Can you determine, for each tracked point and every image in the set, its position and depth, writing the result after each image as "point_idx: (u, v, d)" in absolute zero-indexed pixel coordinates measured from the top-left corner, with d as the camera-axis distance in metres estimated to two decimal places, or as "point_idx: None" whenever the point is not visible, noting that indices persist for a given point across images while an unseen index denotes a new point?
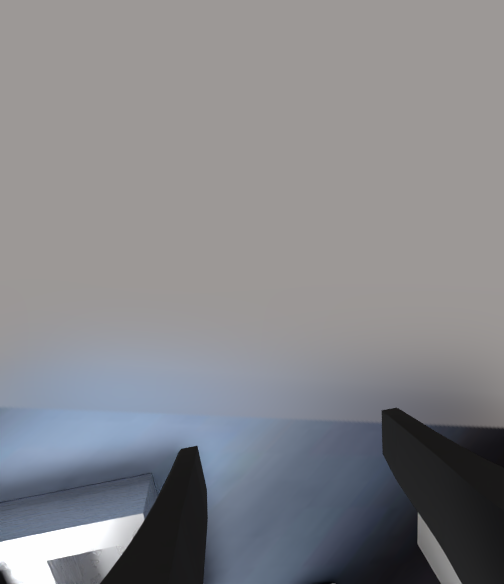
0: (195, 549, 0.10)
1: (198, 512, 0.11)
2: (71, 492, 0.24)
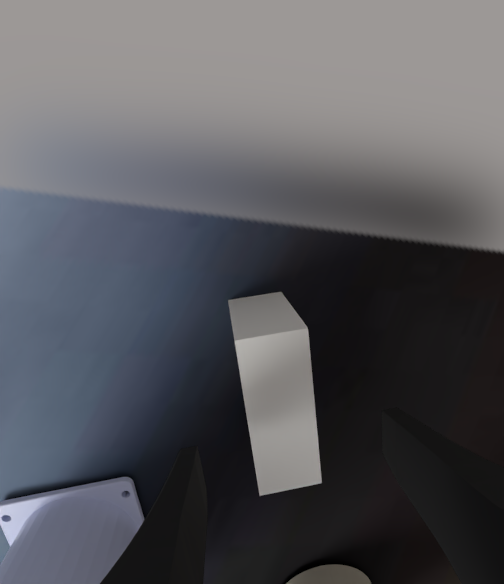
0: (195, 549, 0.10)
1: (198, 512, 0.11)
2: None
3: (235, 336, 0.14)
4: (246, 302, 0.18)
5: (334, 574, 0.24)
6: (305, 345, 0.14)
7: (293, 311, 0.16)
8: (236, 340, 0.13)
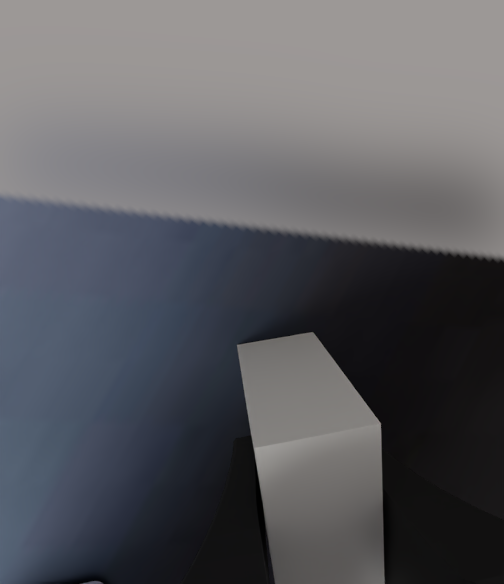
0: (262, 535, 0.10)
1: (260, 499, 0.11)
2: None
3: (254, 436, 0.08)
4: (264, 352, 0.12)
5: None
6: (374, 451, 0.08)
7: (343, 378, 0.10)
8: (257, 447, 0.08)
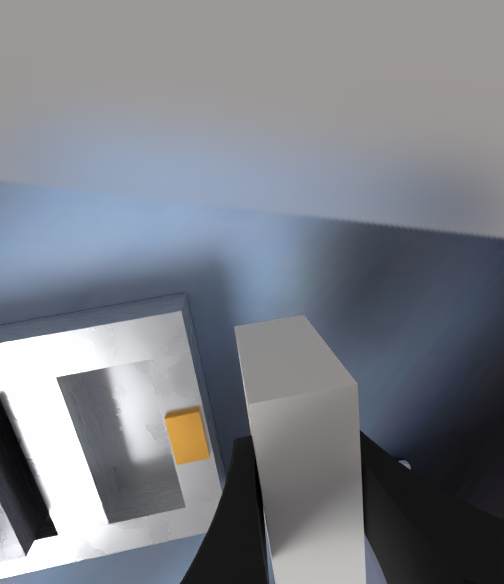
0: (262, 535, 0.10)
1: (259, 499, 0.11)
2: (85, 311, 0.19)
3: (248, 395, 0.09)
4: (259, 331, 0.13)
5: None
6: (352, 408, 0.09)
7: (328, 350, 0.11)
8: (250, 403, 0.09)
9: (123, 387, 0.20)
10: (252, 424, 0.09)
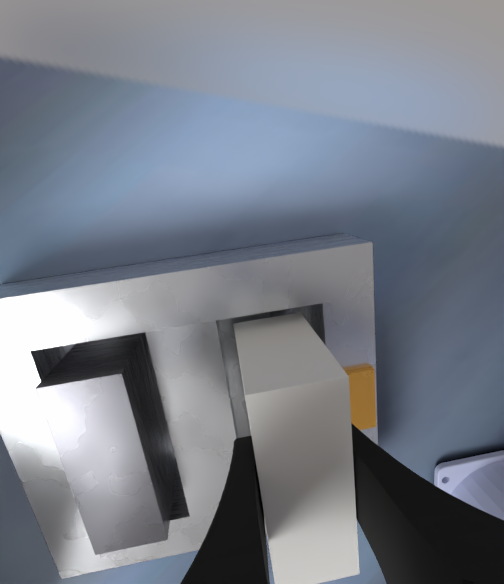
0: (262, 535, 0.10)
1: (260, 499, 0.11)
2: (230, 251, 0.16)
3: (245, 387, 0.10)
4: (257, 328, 0.14)
5: None
6: (344, 400, 0.10)
7: (322, 345, 0.12)
8: (247, 395, 0.09)
9: None
10: (249, 414, 0.10)
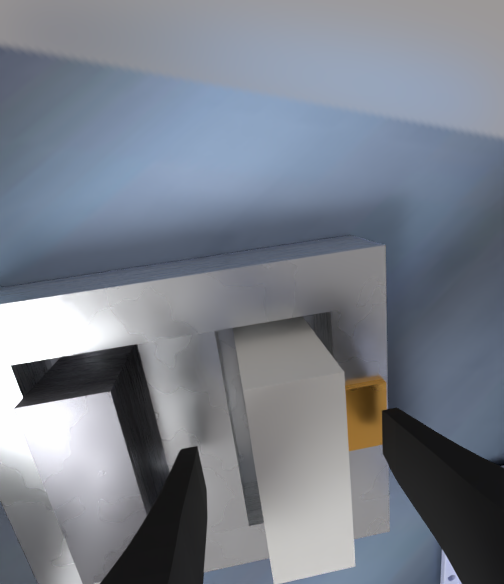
0: (195, 549, 0.10)
1: (198, 512, 0.11)
2: (230, 254, 0.15)
3: (243, 383, 0.10)
4: (255, 326, 0.14)
5: None
6: (340, 395, 0.10)
7: (319, 342, 0.12)
8: (245, 390, 0.10)
9: None
10: (247, 409, 0.10)
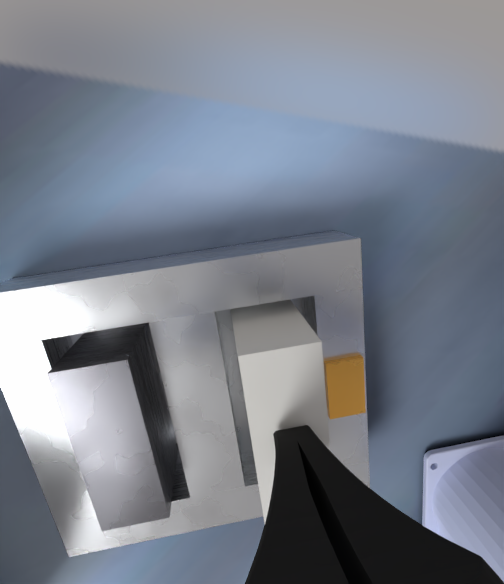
0: None
1: None
2: (228, 247, 0.17)
3: (238, 351, 0.12)
4: (250, 309, 0.16)
5: None
6: (318, 361, 0.12)
7: (303, 320, 0.14)
8: (239, 356, 0.12)
9: None
10: (241, 372, 0.12)
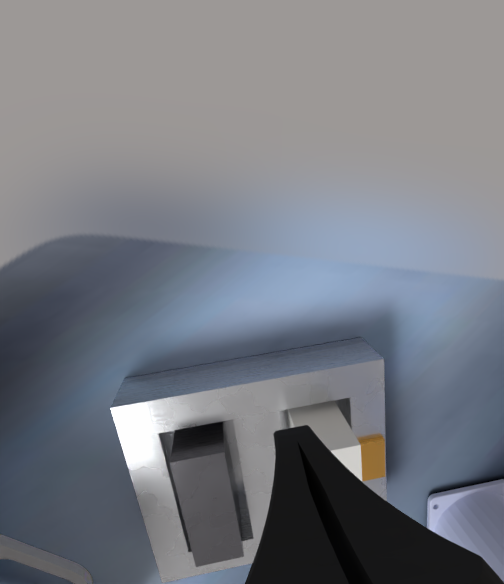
0: None
1: None
2: (283, 353, 0.22)
3: None
4: None
5: None
6: (358, 457, 0.18)
7: (343, 419, 0.20)
8: None
9: None
10: None
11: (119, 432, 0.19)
